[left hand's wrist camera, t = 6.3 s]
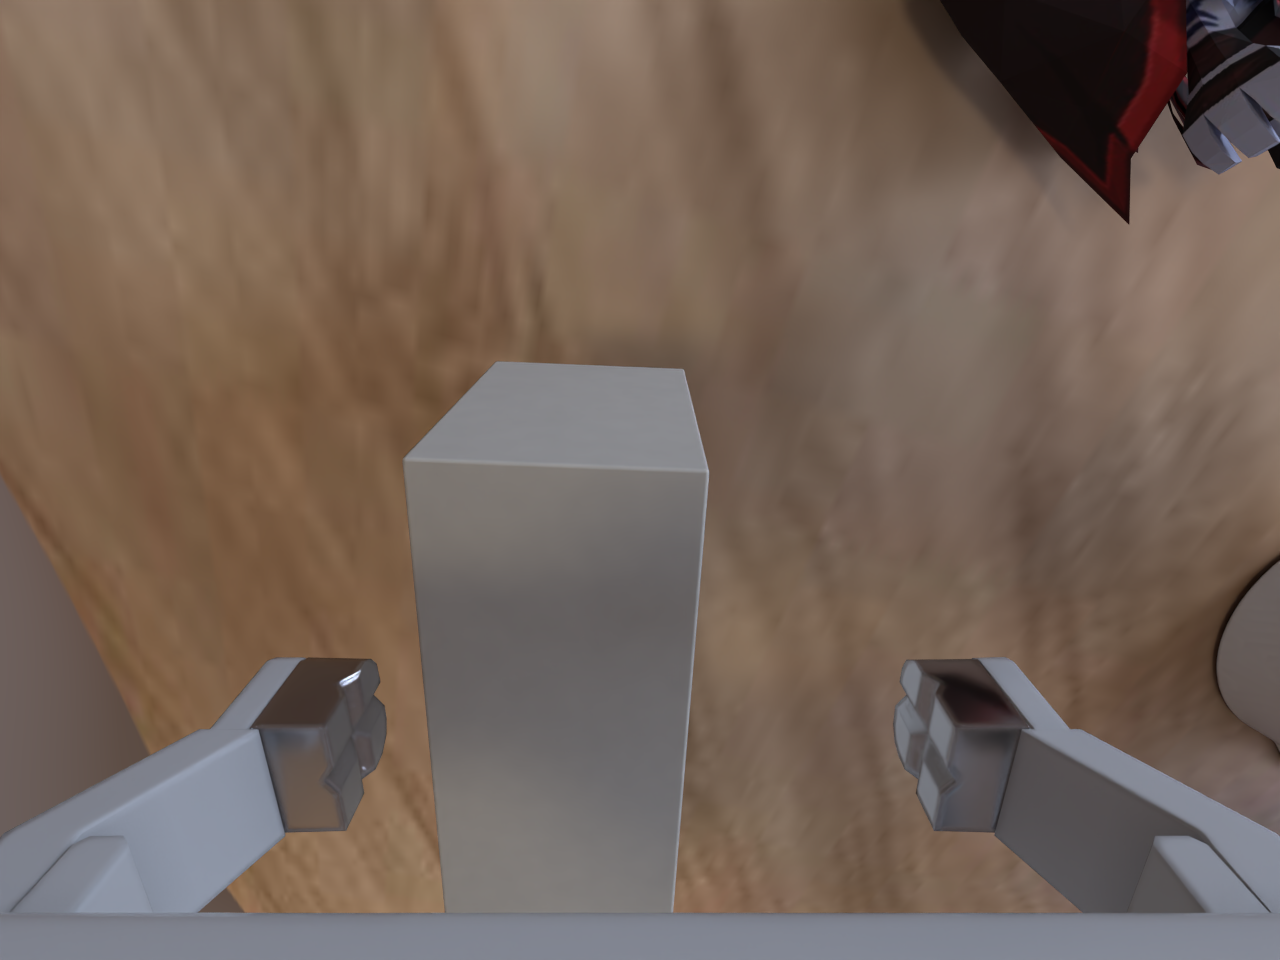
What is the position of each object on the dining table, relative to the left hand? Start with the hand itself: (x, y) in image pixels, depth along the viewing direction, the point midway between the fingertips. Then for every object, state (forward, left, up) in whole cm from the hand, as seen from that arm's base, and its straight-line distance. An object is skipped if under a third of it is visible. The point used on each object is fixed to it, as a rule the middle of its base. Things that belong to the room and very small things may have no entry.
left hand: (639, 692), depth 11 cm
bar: (+6, +7, -10) cm, 14 cm away
